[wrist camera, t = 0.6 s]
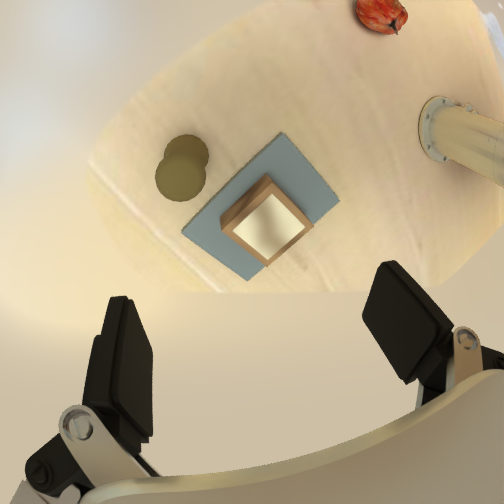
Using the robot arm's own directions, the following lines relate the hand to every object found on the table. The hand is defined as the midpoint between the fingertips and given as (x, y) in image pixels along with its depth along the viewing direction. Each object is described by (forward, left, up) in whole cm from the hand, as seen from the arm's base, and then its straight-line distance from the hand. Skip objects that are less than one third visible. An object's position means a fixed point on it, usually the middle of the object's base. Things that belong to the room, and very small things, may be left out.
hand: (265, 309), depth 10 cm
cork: (+4, -2, -29) cm, 30 cm away
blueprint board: (+3, +11, -29) cm, 31 cm away
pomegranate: (-31, -2, -29) cm, 43 cm away
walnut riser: (+3, +11, -28) cm, 31 cm away
